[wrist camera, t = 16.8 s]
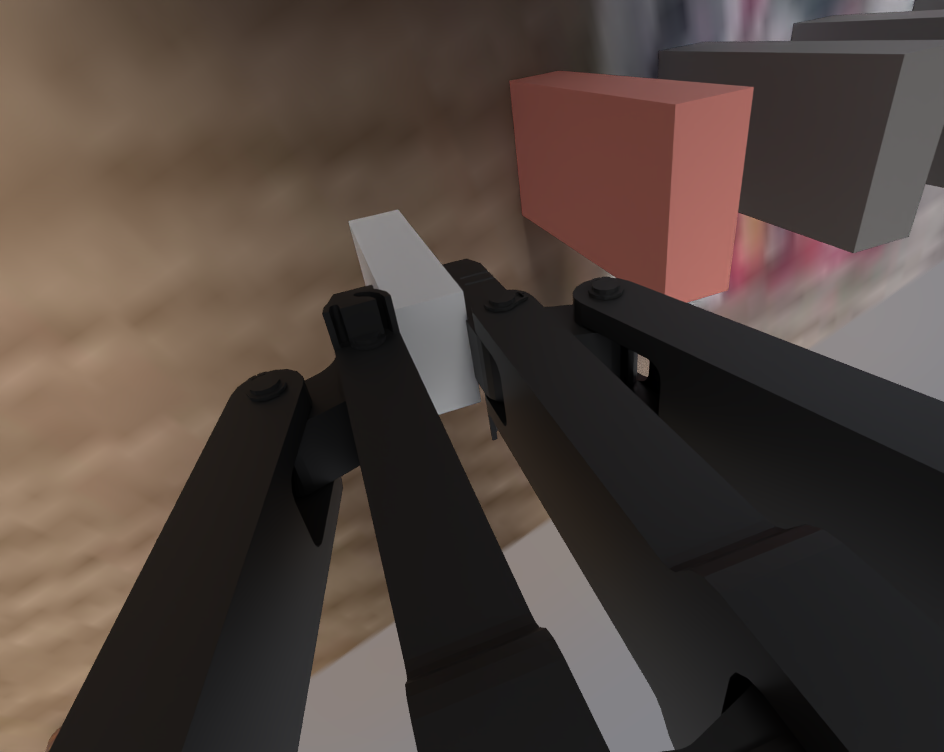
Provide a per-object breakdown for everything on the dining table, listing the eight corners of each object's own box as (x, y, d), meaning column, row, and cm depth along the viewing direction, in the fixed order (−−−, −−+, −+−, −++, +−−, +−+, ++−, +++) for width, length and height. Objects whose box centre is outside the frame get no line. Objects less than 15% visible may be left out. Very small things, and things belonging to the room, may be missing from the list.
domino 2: (773, 152, 30) (1018, 203, 20) (793, 23, 27) (1098, 10, 17) (809, 143, 30) (1067, 188, 21) (834, 15, 27) (1153, -3, 17)
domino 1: (653, 182, 29) (853, 253, 19) (658, 50, 25) (904, 54, 16) (693, 172, 29) (908, 236, 19) (703, 41, 26) (970, 39, 16)
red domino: (559, 70, 24) (753, 87, 15) (565, 203, 28) (728, 290, 18) (509, 80, 24) (675, 104, 14) (522, 214, 27) (664, 309, 17)
